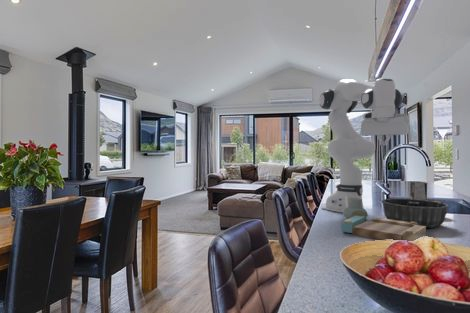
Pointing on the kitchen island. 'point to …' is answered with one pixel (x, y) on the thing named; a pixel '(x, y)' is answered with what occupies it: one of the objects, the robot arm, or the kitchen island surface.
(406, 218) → the bundt pan
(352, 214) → the air freshener
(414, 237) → the tan box with knobs
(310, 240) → the kitchen island surface
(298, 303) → the kitchen island surface
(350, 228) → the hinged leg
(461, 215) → the kitchen island surface
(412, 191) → the coffee box
